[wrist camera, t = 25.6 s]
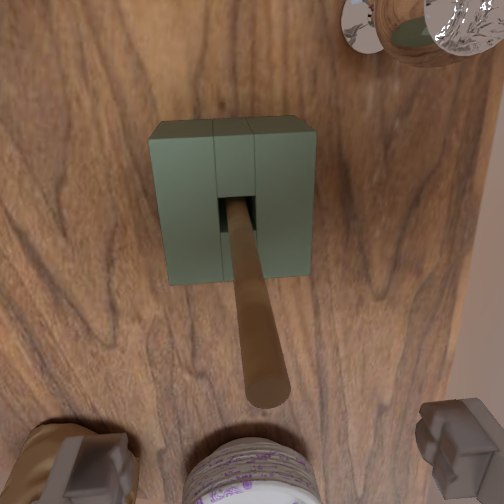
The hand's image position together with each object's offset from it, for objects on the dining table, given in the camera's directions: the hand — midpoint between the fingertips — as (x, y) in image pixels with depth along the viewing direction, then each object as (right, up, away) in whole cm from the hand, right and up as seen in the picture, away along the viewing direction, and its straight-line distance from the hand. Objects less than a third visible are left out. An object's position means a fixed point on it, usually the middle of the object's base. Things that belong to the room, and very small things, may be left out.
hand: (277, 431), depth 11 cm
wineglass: (+8, +21, +16) cm, 28 cm away
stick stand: (-2, +10, +21) cm, 23 cm away
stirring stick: (-2, +11, +21) cm, 23 cm away
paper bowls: (-1, -21, +37) cm, 42 cm away
